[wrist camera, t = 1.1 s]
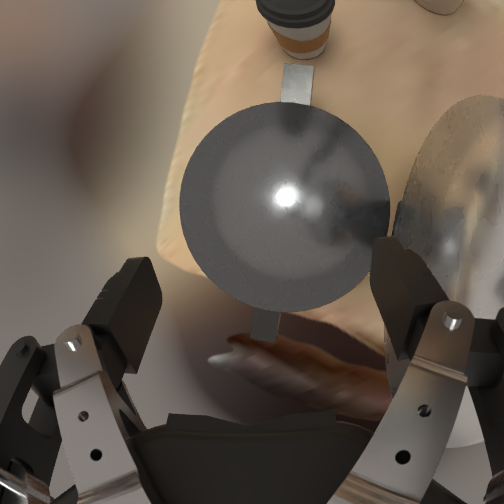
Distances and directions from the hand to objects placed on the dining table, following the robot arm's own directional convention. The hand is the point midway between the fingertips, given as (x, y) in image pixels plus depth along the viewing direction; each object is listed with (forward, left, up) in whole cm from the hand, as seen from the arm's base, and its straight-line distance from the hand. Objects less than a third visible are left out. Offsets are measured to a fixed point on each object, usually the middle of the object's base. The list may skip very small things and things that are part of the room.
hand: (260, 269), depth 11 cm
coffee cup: (-13, -19, -33) cm, 40 cm away
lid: (-7, +8, -9) cm, 14 cm away
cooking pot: (+2, -1, -32) cm, 32 cm away
